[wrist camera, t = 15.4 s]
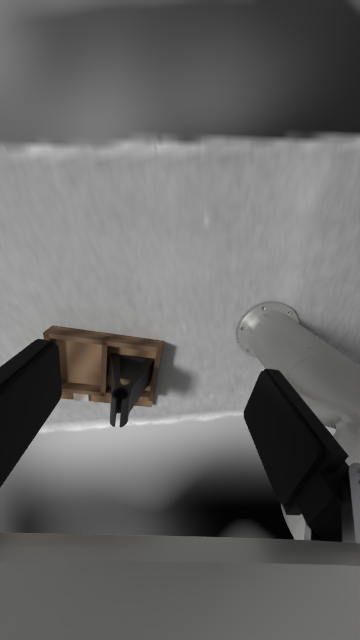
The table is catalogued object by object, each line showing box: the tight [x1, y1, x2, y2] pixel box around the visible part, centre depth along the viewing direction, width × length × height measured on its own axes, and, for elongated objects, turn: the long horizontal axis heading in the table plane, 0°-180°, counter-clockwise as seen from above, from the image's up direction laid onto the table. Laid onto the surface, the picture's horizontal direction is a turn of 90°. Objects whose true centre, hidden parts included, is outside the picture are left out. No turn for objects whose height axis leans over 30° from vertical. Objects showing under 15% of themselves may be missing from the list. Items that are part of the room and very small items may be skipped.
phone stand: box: [110, 353, 154, 427], centre depth 36 cm, size 9×6×12 cm, turn 79°
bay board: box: [43, 326, 163, 407], centre depth 41 cm, size 22×18×3 cm
